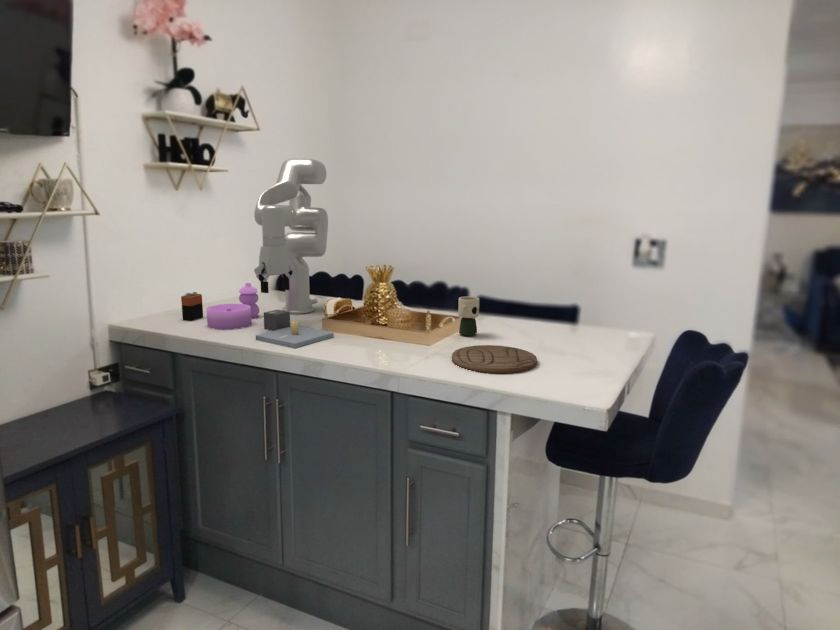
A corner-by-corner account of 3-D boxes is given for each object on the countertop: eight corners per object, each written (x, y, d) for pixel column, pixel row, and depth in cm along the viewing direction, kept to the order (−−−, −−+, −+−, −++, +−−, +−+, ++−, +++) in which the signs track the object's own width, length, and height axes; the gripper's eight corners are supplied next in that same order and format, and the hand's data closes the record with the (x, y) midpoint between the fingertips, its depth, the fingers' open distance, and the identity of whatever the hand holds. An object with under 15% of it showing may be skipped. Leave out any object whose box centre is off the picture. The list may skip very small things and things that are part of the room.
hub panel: (295, 329, 215) (295, 314, 213) (333, 337, 205) (333, 321, 204) (255, 339, 200) (255, 323, 199) (294, 348, 190) (294, 331, 189)
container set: (236, 331, 212) (234, 293, 209) (198, 327, 216) (196, 291, 213) (272, 316, 235) (270, 283, 232) (237, 313, 239) (235, 280, 236)
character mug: (471, 339, 204) (472, 301, 201) (452, 337, 207) (453, 299, 204) (483, 333, 213) (484, 296, 210) (464, 330, 216) (465, 294, 213)
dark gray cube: (277, 325, 220) (277, 309, 218) (290, 328, 216) (289, 311, 215) (264, 329, 215) (263, 311, 213) (276, 331, 211) (276, 314, 210)
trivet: (527, 351, 192) (527, 345, 192) (545, 375, 167) (546, 368, 167) (448, 350, 191) (448, 344, 191) (455, 375, 167) (455, 368, 166)
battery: (182, 320, 227) (180, 293, 225) (194, 316, 233) (192, 290, 231) (191, 321, 225) (189, 294, 223) (203, 317, 232) (202, 291, 229)
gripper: (284, 240, 218) (286, 287, 221) (246, 242, 204) (248, 293, 207) (299, 241, 214) (301, 289, 217) (261, 243, 200) (263, 295, 203)
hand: (275, 291), depth 212 cm, fingers open, 9 cm apart
